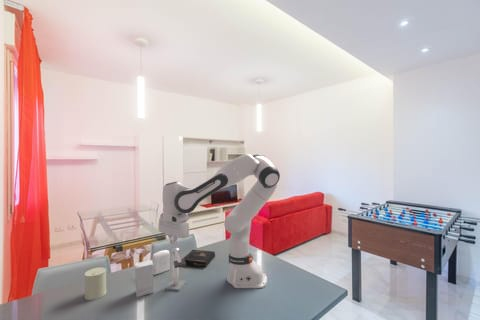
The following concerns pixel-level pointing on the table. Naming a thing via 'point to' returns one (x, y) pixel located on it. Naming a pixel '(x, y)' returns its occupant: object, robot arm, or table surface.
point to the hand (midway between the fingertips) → (173, 243)
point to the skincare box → (144, 278)
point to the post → (175, 279)
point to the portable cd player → (199, 258)
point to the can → (95, 283)
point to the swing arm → (178, 258)
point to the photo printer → (161, 262)
